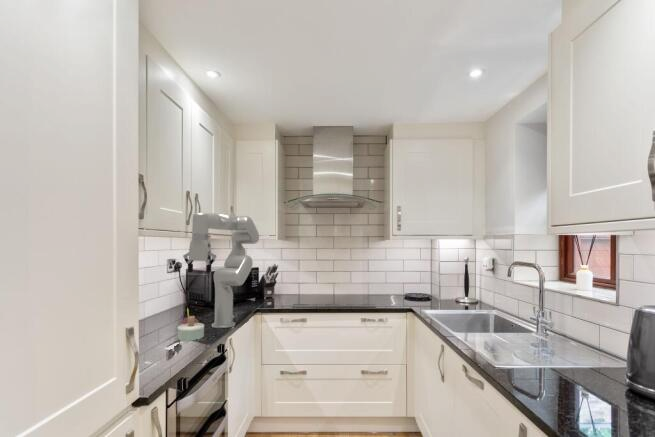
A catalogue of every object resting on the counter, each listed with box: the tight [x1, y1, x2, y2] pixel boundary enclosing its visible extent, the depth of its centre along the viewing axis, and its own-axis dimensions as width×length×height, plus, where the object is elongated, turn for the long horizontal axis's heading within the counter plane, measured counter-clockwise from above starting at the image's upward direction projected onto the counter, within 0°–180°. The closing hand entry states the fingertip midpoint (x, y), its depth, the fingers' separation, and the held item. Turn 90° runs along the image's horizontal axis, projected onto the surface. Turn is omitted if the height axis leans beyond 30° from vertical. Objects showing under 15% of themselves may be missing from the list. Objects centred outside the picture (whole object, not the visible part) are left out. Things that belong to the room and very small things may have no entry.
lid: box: [177, 315, 205, 331], centre depth 172 cm, size 12×12×5 cm
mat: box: [163, 342, 180, 351], centre depth 158 cm, size 10×10×1 cm
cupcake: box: [180, 307, 199, 325], centre depth 186 cm, size 9×8×12 cm
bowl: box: [177, 327, 205, 342], centre depth 172 cm, size 11×11×5 cm
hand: (199, 272), depth 176 cm, fingers open, 9 cm apart
